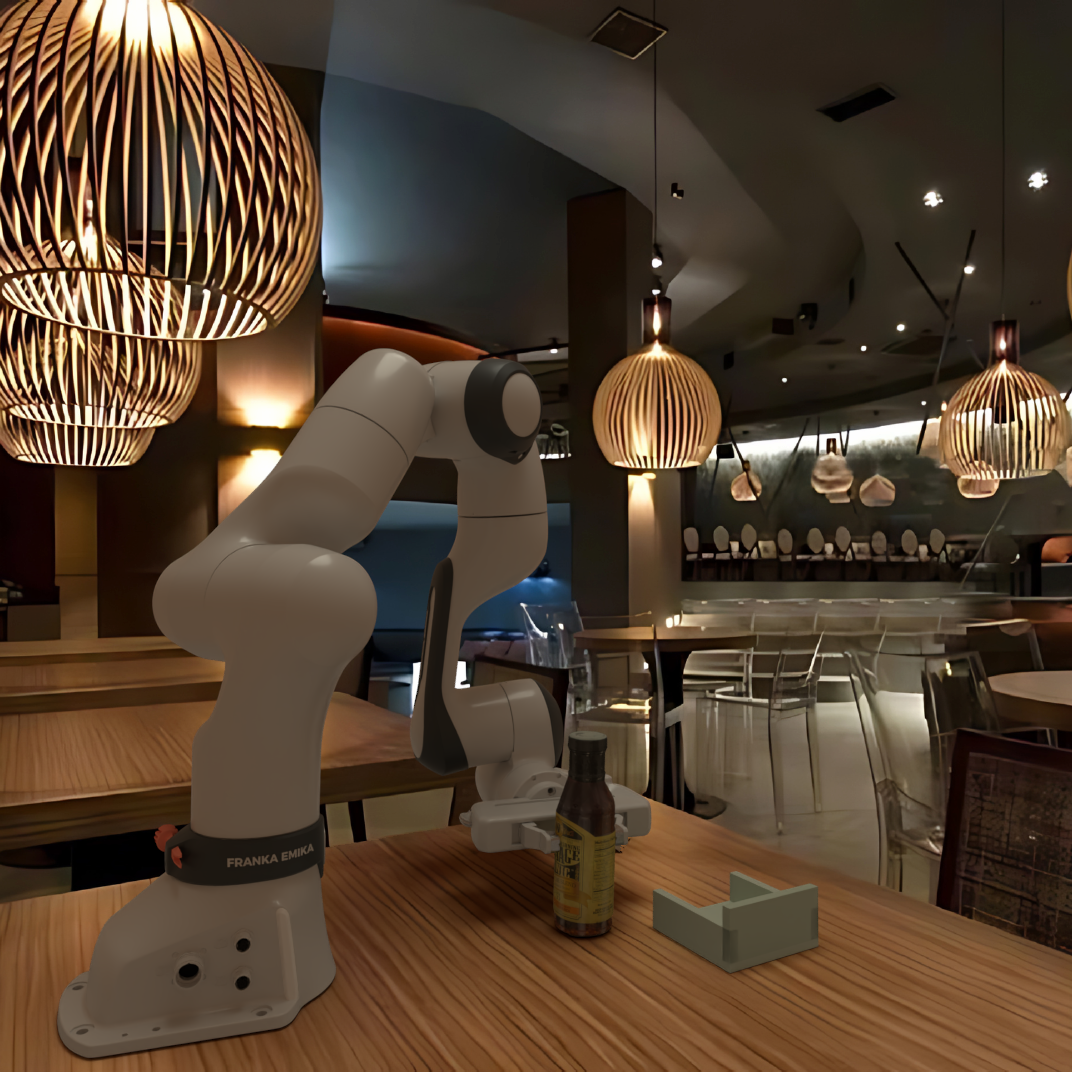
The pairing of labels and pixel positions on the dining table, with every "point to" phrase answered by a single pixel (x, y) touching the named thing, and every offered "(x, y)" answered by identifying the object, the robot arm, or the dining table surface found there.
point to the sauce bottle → (585, 841)
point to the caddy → (742, 923)
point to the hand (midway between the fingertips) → (588, 841)
